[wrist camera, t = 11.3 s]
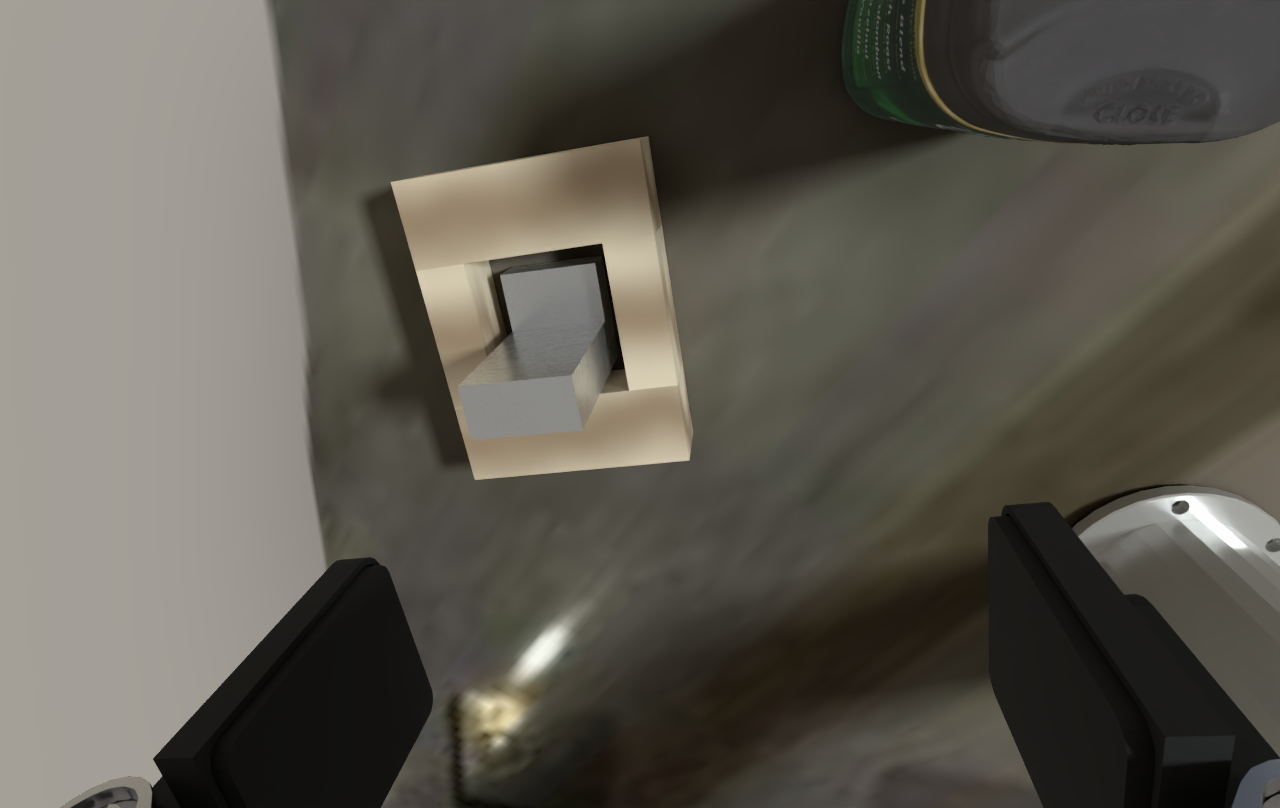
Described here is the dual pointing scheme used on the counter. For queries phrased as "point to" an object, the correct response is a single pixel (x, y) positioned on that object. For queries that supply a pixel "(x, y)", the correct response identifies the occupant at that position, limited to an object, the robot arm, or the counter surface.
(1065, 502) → the counter surface
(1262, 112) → the coffee jar
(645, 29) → the counter surface
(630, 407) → the block
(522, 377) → the bracket
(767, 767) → the counter surface
